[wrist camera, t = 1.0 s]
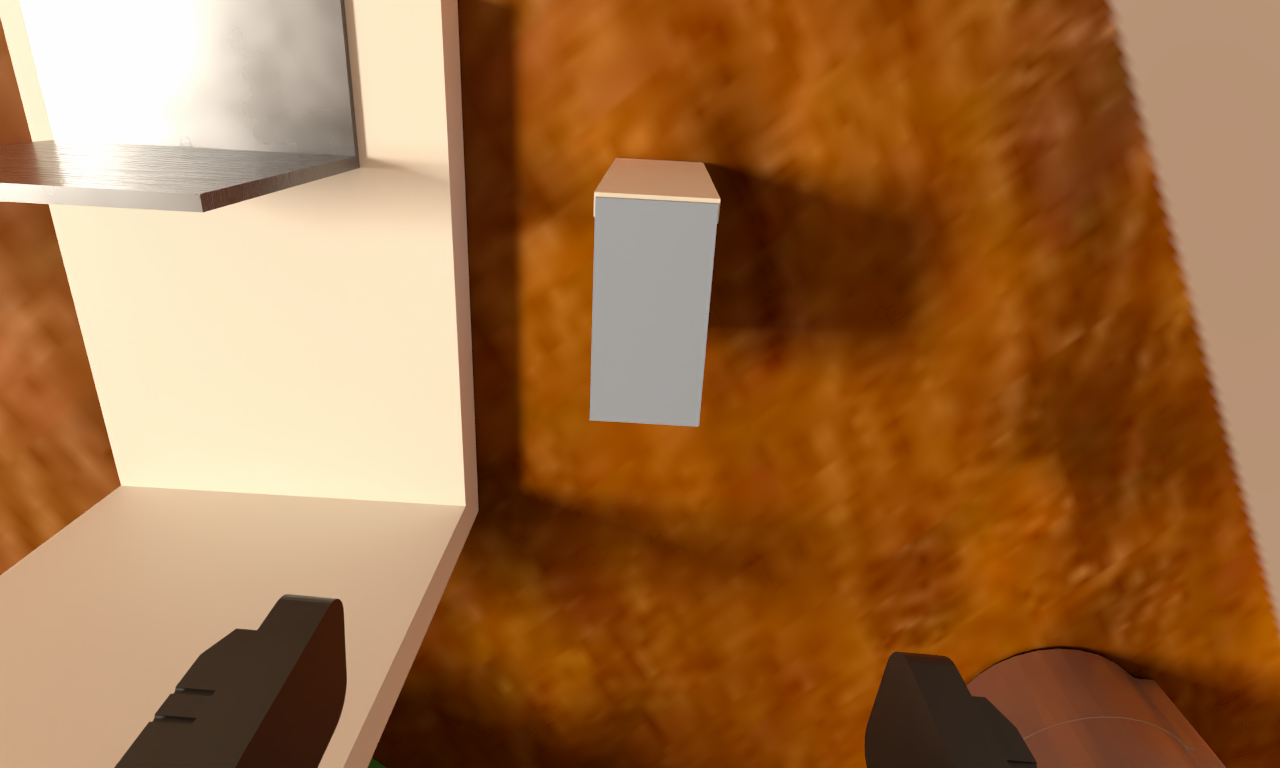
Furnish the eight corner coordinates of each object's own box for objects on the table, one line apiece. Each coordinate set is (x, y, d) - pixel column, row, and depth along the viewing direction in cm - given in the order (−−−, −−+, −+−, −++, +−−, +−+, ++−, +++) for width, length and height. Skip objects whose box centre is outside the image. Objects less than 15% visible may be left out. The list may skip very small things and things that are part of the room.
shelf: (457, -6, 24) (129, -144, 9) (478, 510, 32) (317, 883, 17) (37, -29, 24) (-936, -199, 9) (160, 491, 32) (-274, 844, 17)
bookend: (342, -15, 22) (152, -72, 14) (359, 167, 24) (202, 212, 16) (19, -32, 22) (-360, -98, 14) (64, 151, 25) (-243, 187, 16)
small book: (703, 162, 26) (721, 200, 18) (689, 325, 28) (700, 426, 20) (616, 157, 26) (593, 193, 18) (610, 320, 28) (587, 420, 20)
